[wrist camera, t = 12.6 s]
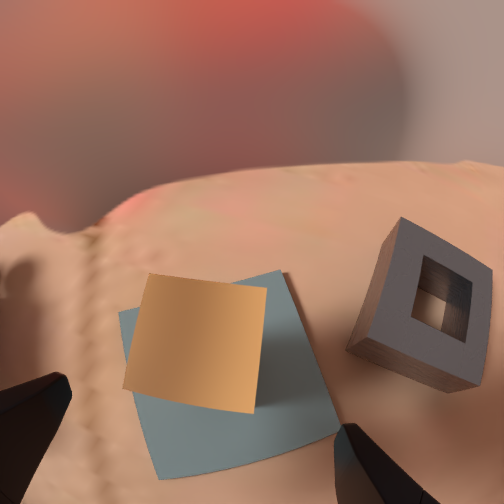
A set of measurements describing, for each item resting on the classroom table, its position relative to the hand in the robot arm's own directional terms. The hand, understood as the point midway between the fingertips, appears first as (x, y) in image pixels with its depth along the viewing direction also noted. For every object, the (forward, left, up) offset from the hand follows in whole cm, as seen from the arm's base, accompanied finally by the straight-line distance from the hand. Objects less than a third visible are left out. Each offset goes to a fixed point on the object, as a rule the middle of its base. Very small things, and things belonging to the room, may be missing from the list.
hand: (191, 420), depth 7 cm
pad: (+2, -1, -8) cm, 9 cm away
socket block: (+1, -15, -8) cm, 17 cm away
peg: (+2, -1, -8) cm, 8 cm away
